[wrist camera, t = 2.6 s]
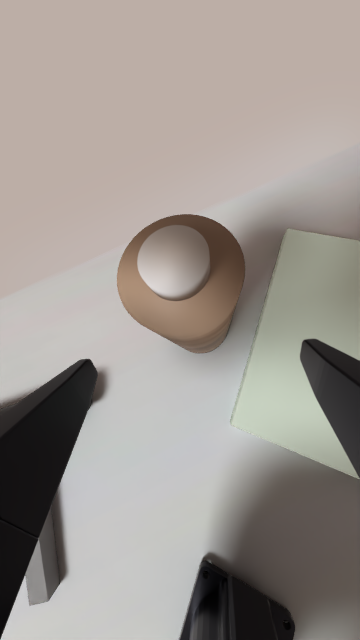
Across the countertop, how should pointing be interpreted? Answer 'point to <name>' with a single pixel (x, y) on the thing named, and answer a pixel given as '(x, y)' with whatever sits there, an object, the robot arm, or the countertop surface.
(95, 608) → the countertop surface
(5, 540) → the robot arm
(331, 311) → the serving board
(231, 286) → the brown capped cylinder
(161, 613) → the countertop surface
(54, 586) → the door handle
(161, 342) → the countertop surface
